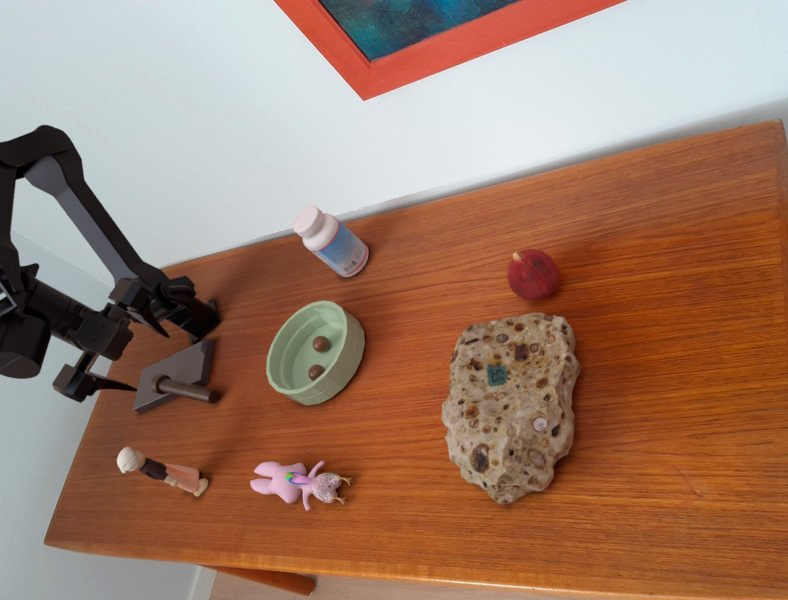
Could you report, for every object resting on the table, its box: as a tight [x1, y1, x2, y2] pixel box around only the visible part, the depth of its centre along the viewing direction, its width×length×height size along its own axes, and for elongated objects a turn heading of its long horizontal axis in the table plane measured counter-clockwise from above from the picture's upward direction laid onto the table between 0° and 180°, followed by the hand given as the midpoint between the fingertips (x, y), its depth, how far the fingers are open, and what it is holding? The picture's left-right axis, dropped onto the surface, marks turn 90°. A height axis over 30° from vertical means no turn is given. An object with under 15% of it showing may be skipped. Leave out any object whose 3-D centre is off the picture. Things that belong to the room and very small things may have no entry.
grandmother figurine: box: [116, 446, 209, 498], centre depth 91 cm, size 8×4×13 cm, turn 71°
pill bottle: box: [292, 204, 370, 278], centre depth 97 cm, size 6×6×11 cm
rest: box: [132, 338, 215, 414], centre depth 111 cm, size 8×16×2 cm, turn 95°
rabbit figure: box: [249, 460, 353, 512], centre depth 82 cm, size 6×6×15 cm
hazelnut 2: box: [308, 364, 326, 381], centre depth 91 cm, size 2×2×2 cm
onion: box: [506, 248, 560, 302], centre depth 76 cm, size 6×6×8 cm
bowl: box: [265, 299, 366, 406], centre depth 92 cm, size 14×14×4 cm
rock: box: [441, 312, 582, 506], centre depth 70 cm, size 21×14×10 cm
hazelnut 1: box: [312, 336, 330, 353], centre depth 93 cm, size 2×2×2 cm
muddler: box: [151, 374, 220, 405], centre depth 105 cm, size 3×3×12 cm
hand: (152, 363), depth 101 cm, fingers open, 9 cm apart
